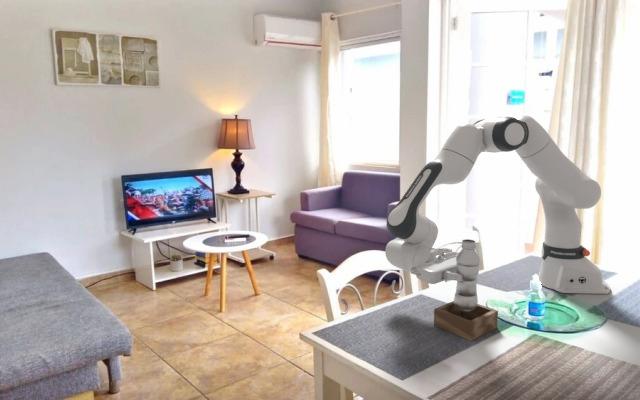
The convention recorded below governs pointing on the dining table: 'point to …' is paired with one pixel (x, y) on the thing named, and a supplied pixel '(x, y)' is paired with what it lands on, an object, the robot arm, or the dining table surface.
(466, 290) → the plastic bottle
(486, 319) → the open wooden box
